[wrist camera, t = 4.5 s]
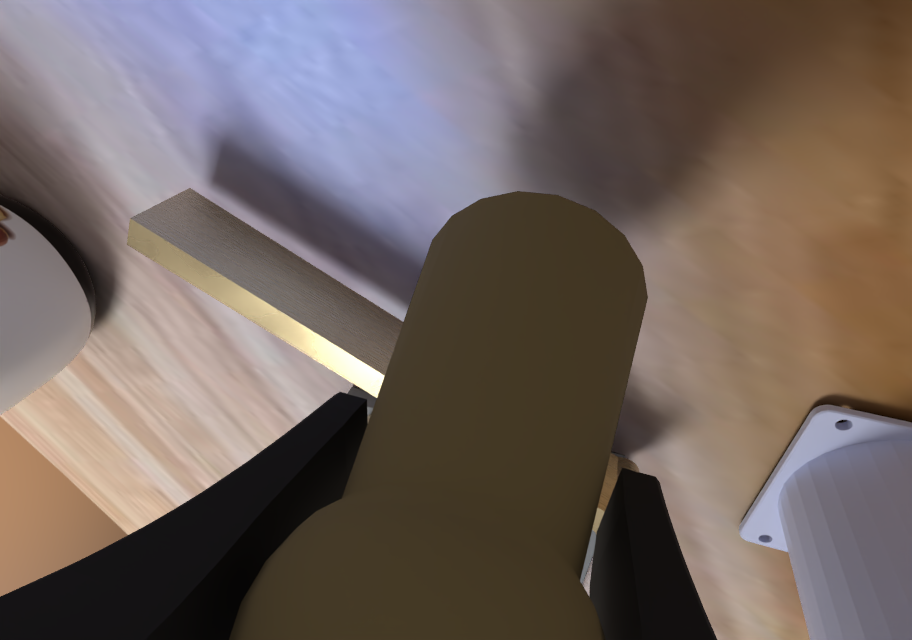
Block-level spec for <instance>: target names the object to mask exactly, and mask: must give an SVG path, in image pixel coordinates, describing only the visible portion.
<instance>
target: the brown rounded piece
mask: <svg viewBox="0 0 912 640" xmlns="http://www.w3.org/2000/svg"><path fill="white" fill-rule="evenodd" d="M647 299H648V296H647V290H646V283H645V277H644V271H643V266H642V264H641V262H640V260H639V259H638V257H637V255H636V254H635V252H634V250H633V249H632V247H631V245H630V244H629V242H628V240H627V239H626V237H625V235H624V234H622V233H621V232H620V231H619V230H618V229H616V228H615V227H614V226H613V225H612V224H610V223H609V222H608V221H607V220H606V219H605V218H603V217H602V216H601V215H600V214H599V213H597V212H596V211H595V210H592V209H590V208H588V207H585V206H583V205H580V204H578V203H575V202H573V201H571V200H568V199H566V198H563V197H561V196H559V195H551V194H541V193H531V192H520V191H517V192H512V193H507V194H502V195H497V196H493V197H488V198H483V199H480V200H478V201H477V202H475V203H473V204H472V205H470V206H468V207H466V208H465V209H463V210H461V211H460V212H458V213H456V214H454V215H453V216H451V218H450V219H449V220H448V221H447V223H446V224H445V225H444V226H443V228H442V229H441V230H440V231H439V232H438V234H437V235H436V236H435V237H434V239H433V240H432V243H431V245H430V248H429V251H428V254H427V257H426V260H425V263H424V265H423V268H422V271H421V274H420V277H419V280H418V282H417V285H416V288H415V291H414V294H413V297H412V300H411V302H410V305H409V308H408V311H407V314H406V317H405V319H404V322H403V325H402V328H401V331H400V334H399V337H398V339H397V342H396V345H395V348H394V351H393V354H392V356H391V359H390V362H389V365H388V368H387V371H386V374H385V376H384V379H383V382H382V385H381V388H380V391H379V393H378V396H377V399H376V402H375V405H374V408H373V411H372V413H371V416H370V419H369V422H368V425H367V428H366V431H365V433H364V436H363V439H362V442H361V445H360V448H359V450H358V453H357V456H356V459H355V462H354V465H353V468H352V470H351V473H350V476H349V479H348V482H347V485H346V487H345V490H344V493H343V496H342V499H340V500H338V501H336V502H334V503H332V504H330V505H328V506H326V507H324V508H322V509H320V510H318V511H316V512H315V513H314V514H312V515H311V516H310V517H309V518H308V519H306V520H305V521H304V522H303V523H302V524H300V525H299V526H298V527H297V528H296V529H295V530H294V531H293V532H292V533H291V534H290V535H289V536H288V538H287V539H286V540H285V541H284V542H283V543H282V544H281V545H280V546H279V547H278V548H277V549H276V550H275V552H274V553H273V554H272V555H271V556H270V557H269V558H268V559H267V560H266V561H265V563H264V565H263V566H262V568H261V570H260V571H259V573H258V575H257V577H256V578H255V580H254V582H253V583H252V585H251V587H250V588H249V590H248V592H247V593H246V595H245V597H244V598H243V600H242V602H241V604H240V607H239V610H238V613H237V616H236V619H235V622H234V626H233V629H232V632H231V635H230V638H229V640H606V639H605V635H604V632H603V629H602V626H601V623H600V620H599V618H598V615H597V612H596V609H595V607H594V605H593V603H592V601H591V599H590V598H589V596H588V594H587V592H586V591H585V589H584V587H583V585H582V583H581V582H580V579H581V575H582V571H583V566H584V562H585V558H586V554H587V550H588V546H589V541H590V537H591V533H592V529H593V525H594V520H595V516H596V512H597V508H598V504H599V499H600V495H601V491H602V487H603V483H604V479H605V474H606V470H607V466H608V462H609V458H610V453H611V449H612V445H613V441H614V437H615V433H616V428H617V424H618V420H619V416H620V412H621V407H622V403H623V399H624V395H625V391H626V387H627V382H628V378H629V374H630V370H631V366H632V361H633V357H634V353H635V349H636V345H637V340H638V336H639V332H640V328H641V324H642V320H643V315H644V311H645V307H646V303H647Z"/></svg>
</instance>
